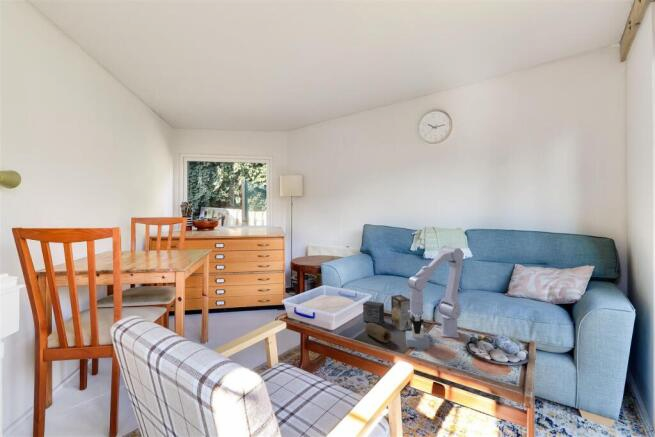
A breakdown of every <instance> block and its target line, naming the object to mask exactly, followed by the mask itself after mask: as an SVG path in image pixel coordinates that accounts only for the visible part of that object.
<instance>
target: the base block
mask: <svg viewBox="0 0 655 437" xmlns="http://www.w3.org/2000/svg"><path fill="white" fill-rule="evenodd" d="M405 342H406V348H410V347H419V348H418V349H426V348H430V338H429V334H428V332H427V331H423V338H412V330H405Z"/></svg>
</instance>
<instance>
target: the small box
mask: <svg viewBox="0 0 655 437" xmlns="http://www.w3.org/2000/svg"><path fill="white" fill-rule="evenodd" d="M384 303H385V302H384ZM384 303H383V302H376V301H370V300H366V301H365V302H363V303H362V305H363V306H362V307H363V308H362V309H363V320H362V321H363V323H364V322H365V323H375V324H377V325H379V326H381V324H383V323H384V322H385V304H384Z"/></svg>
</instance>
